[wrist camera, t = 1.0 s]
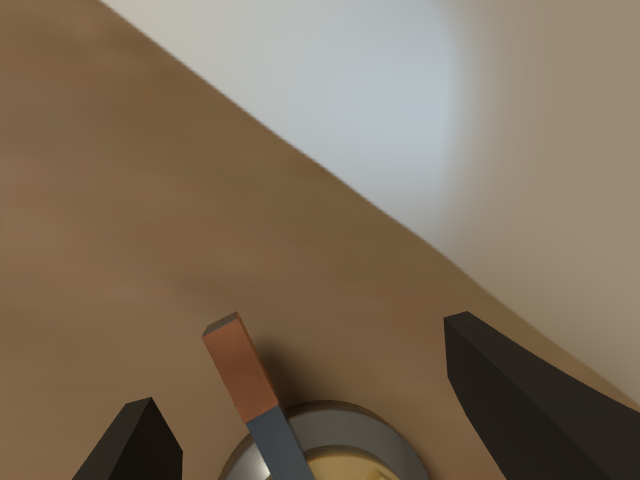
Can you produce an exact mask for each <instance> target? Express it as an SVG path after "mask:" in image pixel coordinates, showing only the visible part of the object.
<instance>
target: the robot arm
mask: <svg viewBox="0 0 640 480" xmlns="http://www.w3.org/2000/svg"><path fill="white" fill-rule="evenodd" d="M444 331H445V345H446V359H447V373H448V379H449V381H450V383H451V385H452V387H453V389H454V391H455V393H456V395H457V398H458V400H459V402H460V404H461V406H462V408H463V410H464V412H465V414H466V416H467V417H468V419H469V421H470V422H471V424H472V425H473V427H474V429H475V430H476V432H477V433H478V435H479V437H480V438H481V440H482V441H483V443H484V444H485V446H486V448H487V449H488V451H489V452H490V454H491V456H492V457H493V459H494V460H495V462H496V463H497V465H498V467H499V468H500V470H501V471H502V473H503V474H504V476H505V478H506V479H507V480H640V413H639V412H637V411H635V410H633V409H631V408H629V407H627V406H625V405H623V404H621V403H619V402H617V401H615V400H613V399H611V398H609V397H607V396H605V395H604V394H602V393H600V392H598V391H596V390H594V389H593V388H591V387H589V386H587V385H585V384H584V383H582V382H580V381H578V380H576V379H575V378H573V377H571V376H569V375H568V374H566V373H564V372H563V371H561V370H559V369H557V368H556V367H554V366H553V365H551V364H549V363H548V362H546V361H544V360H543V359H541V358H539V357H538V356H536V355H534V354H533V353H531V352H530V351H528V350H526V349H525V348H523V347H522V346H520V345H518V344H517V343H515V342H514V341H512V340H511V339H509V338H508V337H506V336H505V335H503V334H502V333H500V332H498V331H497V330H495V329H494V328H492V327H491V326H489V325H488V324H486V323H485V322H483V321H482V320H480V319H479V318H477V317H476V316H474V315H473V314H471V313H469V312H468V311H466V312H463V313H459V314H455V315H451V316H448V317H444ZM182 459H183V451H182V449H181V447H180V446H179V444H178V442H177V440H176V439H175V437H174V435H173V433H172V432H171V430H170V428H169V426H168V425H167V423H166V421H165V420H164V418H163V416H162V414H161V413H160V411H159V409H158V407H157V406H156V404H155V402H154V400H153V399H152V397H149V398H146V399H142V400H138V401H135V402H131V403H127V404H125V406H124V407H123V408H122V410H121V411H120V412H119V414H118V415H117V417H116V418H115V419H114V421H113V422H112V424H111V425H110V426H109V428H108V429H107V431H106V432H105V433H104V435H103V436H102V438H101V439H100V441H99V442H98V443H97V445H96V446H95V448H94V449H93V451H92V452H91V453H90V455H89V456H88V458H87V459H86V461H85V462H84V463H83V465H82V466H81V467H80V469H79V470H78V472H77V473H76V474H75V476H74V477H73V479H72V480H182Z"/></svg>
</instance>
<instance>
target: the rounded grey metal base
mask: <svg viewBox="0 0 640 480" xmlns="http://www.w3.org/2000/svg"><path fill="white" fill-rule="evenodd" d="M284 411H285V413H286V415H287V417H288V419H289V421H290V423H291V425H292V427H293V429H294V431H295V433H296V435H297V437H298V439H299V441H300V443H301V445H302V448H303V450H304V451H306V450H308V449H311V448H315V447H319V446H323V445H334V444H336V445H349V446H354V447H358V448H361V449H363V450H366V451H368V452H370V453H372V454H374V455H376V456H377V457H379V458H380V459H381V460H383V461H384V462H385V463H386V464H387V465H388V466H389V467H390V468H391V469H392V470H393V471H394V472H395V473H396V475H397V476H398V477H399V478H400V480H430V479H429V476H428V474H427V472H426V470H425V468H424V466H423V464H422V462H421V460H420V459H419V457H418V456H417V454H416V453H415V451H414V450H413V449H412V448H411V446H410V445H409V444H408V443H407V442H406V441H405V440H404V439H403V438H402V437H401V436H400V435H399V434H398V433H397V432H396V431H395V430H394V429H393V428H392V427H391V426H390V425H389V424H388V423H387V422H385V421H384V420H383V419H382V418H381V417H379V416H378V415H376V414H374V413H373V412H371V411H369V410H367V409H365V408H363V407H360V406H358V405H355V404H351V403H347V402H342V401H334V400H318V401H311V402H305V403H301V404H298V405H295V406H291V407H289V408H287V409H284ZM269 475H270V472H269V470H268V468H267V466H266V464H265V462H264V460H263V458H262V456H261V454H260V452H259V450H258V448H257V446H256V444H255V442H254V440H253V438H252V436H251V434H250V433H249V434H248V435H247V436H246V437H245V438H244V439H243V440H242V441H241V442H240V444H239V445H238V446H237V448H236V449H235V450H234V451H233V453H232V454H231V456H230V457H229V459H228V461H227V462H226V464H225V466H224V468H223V470H222V472H221V474H220V476H219V478H218V480H265V479H266V478H267V477H268V476H269Z"/></svg>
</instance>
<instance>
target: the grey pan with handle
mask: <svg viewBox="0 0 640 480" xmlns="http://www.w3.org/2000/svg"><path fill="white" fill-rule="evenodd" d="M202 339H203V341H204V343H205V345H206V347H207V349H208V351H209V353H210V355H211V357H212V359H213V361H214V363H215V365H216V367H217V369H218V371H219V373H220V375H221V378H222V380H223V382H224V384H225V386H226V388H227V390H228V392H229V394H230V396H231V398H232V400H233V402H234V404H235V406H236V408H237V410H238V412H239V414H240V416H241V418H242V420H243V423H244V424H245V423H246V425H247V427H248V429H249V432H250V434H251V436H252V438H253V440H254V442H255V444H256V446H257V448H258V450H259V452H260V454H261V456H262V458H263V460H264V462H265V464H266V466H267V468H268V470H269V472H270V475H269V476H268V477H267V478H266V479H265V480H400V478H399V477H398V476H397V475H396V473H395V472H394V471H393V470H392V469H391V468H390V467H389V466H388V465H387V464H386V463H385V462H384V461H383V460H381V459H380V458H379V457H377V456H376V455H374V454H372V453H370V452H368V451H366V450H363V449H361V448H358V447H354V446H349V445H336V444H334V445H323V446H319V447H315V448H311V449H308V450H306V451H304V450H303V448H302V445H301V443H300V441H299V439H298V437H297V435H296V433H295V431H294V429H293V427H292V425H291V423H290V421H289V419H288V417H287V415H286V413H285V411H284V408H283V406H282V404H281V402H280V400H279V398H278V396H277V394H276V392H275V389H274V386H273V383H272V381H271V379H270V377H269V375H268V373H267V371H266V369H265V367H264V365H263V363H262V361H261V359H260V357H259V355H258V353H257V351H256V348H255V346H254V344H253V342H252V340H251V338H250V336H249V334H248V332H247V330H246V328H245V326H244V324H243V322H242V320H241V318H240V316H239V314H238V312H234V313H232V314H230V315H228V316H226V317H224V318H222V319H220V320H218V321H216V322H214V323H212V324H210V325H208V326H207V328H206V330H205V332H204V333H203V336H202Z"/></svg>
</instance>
